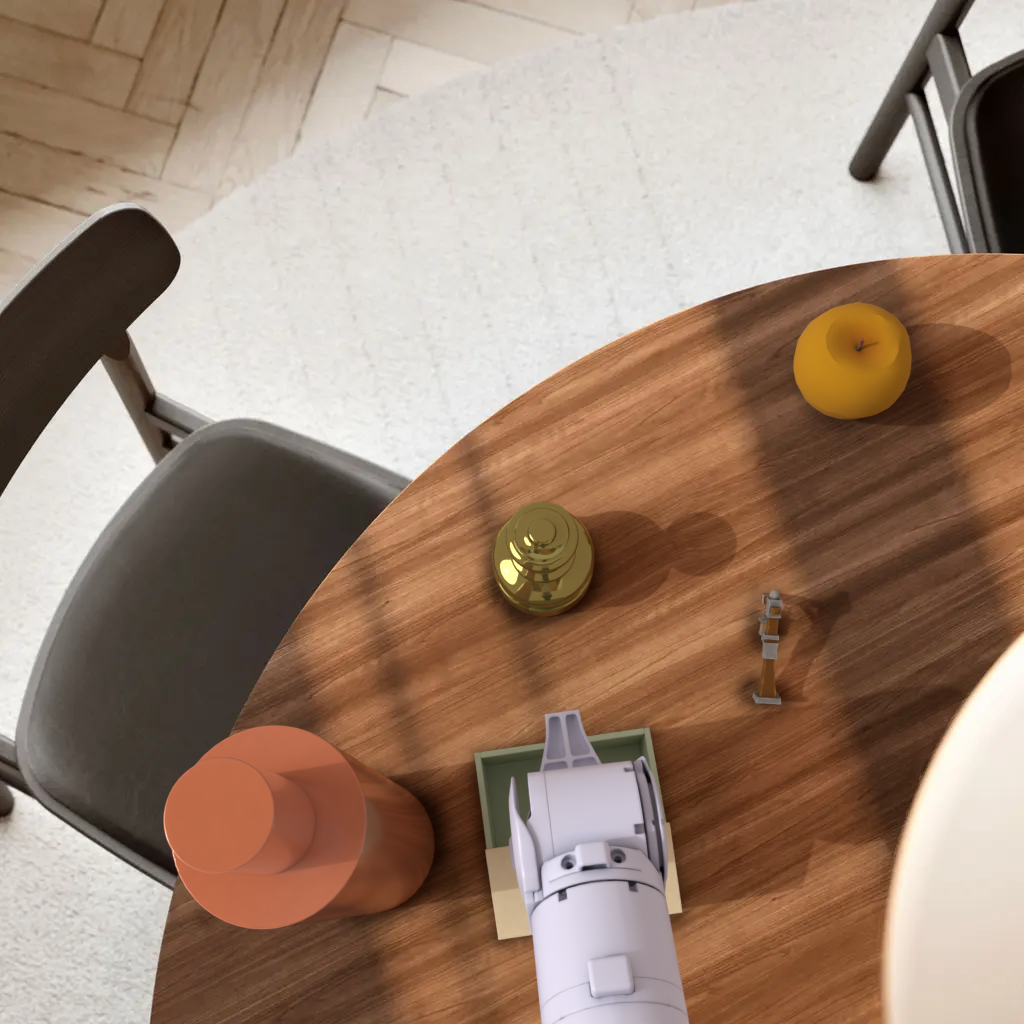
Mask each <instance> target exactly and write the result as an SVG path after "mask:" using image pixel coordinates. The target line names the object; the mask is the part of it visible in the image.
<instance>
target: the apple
mask: <svg viewBox="0 0 1024 1024" xmlns="http://www.w3.org/2000/svg"><path fill="white" fill-rule="evenodd" d="M912 361H913V355H912V349H911V340H910V335H909V334H908V331H907V328H906V327H905V326H904V325H903V324H902V322H901V321H900V320H899V319H898V317H897V316H896V315H895V314H893V313H891V312H889V311H887V310H886V309H884V308H883V307H880V306H878V305H875V304H874V303H873V304H872V303H867V302H861V301H854V302H850V303H847V304H842V305H838V306H834V307H832V308H830V309H828V310H826V311H825V312H823V313H822V314H820V315H818V316H817V317H816V318H814V319H813V320H811V321H810V322H809V323H808V324H807V326H806V327H805V329H803V331H802V333H801V334H800V336H799V337H798V339H797V342H796V347H795V352H794V356H793V374H794V380H795V384H796V385H797V387H798V389H799V391H800V393H801V394H802V397H803V399H804V401H805V402H807V403H808V404H809V405H810V406H811V407H812V408H814V409H815V410H817V411H818V412H820V413H821V414H823V415H825V416H826V417H827V416H828V417H831V418H834V419H837V420H858V419H863V418H868V417H872V416H875V415H878V414H879V413H882V412H884V411H886V410H888V409H889V408H890V407H891V406H892V405H893V404H895V403H896V402H897V400H898V399H899V398H900V396H901V395H902V394H903V392H904V391H905V389H906V386H907V384H908V381H909V379H910V376H911V371H912Z"/></svg>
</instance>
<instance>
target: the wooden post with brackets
mask: <svg viewBox="0 0 1024 1024" xmlns="http://www.w3.org/2000/svg"><path fill="white" fill-rule="evenodd" d="M761 604H762V605H763V606H764V609H765V610H764V611H762V614H763V616H762V617H758V620H759V622H760V626H759V631H758V634H759V636H761V637H760V639H761V642H762V650H761V651H762V652H761V654H760V655H761V657H762V666H761V667H762V668H761V674H760V680H759V685H758V689H757V691H752V692H753V694H752V696H751V697H752V699H753V700H754V702H755V704H765V705H766V704H767V705H782V698H781V697H780V695H779V693H778V692H777V689H776V670H775V667H776V660H778V647H779V644H780V643H779V642H778V641H779V640H780V635H779V634H778V629H779V620H780V619H782V605H783V599H782V597H781V594H780V591H778V590H777V589H773V590H771V591H770V592H761Z"/></svg>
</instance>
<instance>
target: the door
mask: <svg viewBox="0 0 1024 1024" xmlns="http://www.w3.org/2000/svg"><path fill="white" fill-rule="evenodd" d="M665 829H666V837H667V847H668V875H667V881H666V890H665V895H666V901H667V906H668V911H669V915H675V914H681V913H683V907H682V900H681V892H680V884H679V879H678V878H679V877H678V871H677V870H678V869H677V865H676V858H675V857H676V856H675V850H674V844H673V836H672V829H671V823H670V822H667V821H666V823H665ZM484 853H485V858H486V866H487V871H488V879H489V885H490V892H491V893H490V894H491V898H492V899H491V900H492V905H493V912H494V918H495V926H496V932H497V939H498V940H499V941H501V939H502V940H507V939H513V938H514V939H515V938H521V936H522V937H528V935H529V936H533V934H531V932H530V926H529V921H528V916H527V912H526V907H525V904H524V901H523V898H522V895H521V891H520V888H519V885H518V880H517V874H516V870H515V869H513V866H512V864H511V856H510V849H509V846H505V847H499V848H492V849H487V848H486V849H485V850H484Z"/></svg>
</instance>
